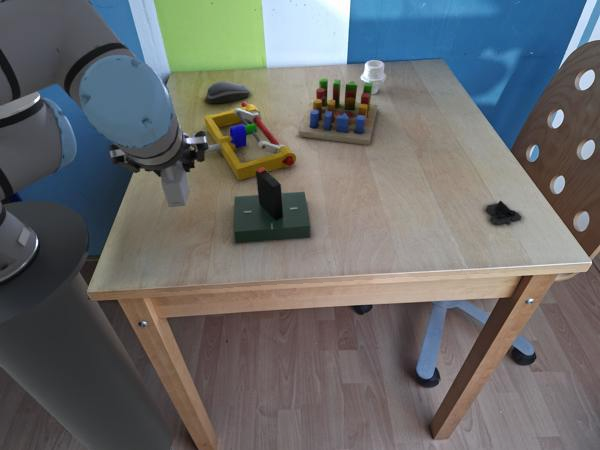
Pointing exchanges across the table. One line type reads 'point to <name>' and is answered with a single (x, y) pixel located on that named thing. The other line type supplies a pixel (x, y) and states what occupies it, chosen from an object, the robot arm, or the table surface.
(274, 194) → the black bar red tab
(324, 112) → the peg board
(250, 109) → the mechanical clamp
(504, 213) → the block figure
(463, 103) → the table surface
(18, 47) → the robot arm
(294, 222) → the green rectangular block
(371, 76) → the pipe fitting
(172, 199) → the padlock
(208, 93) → the computer mouse
